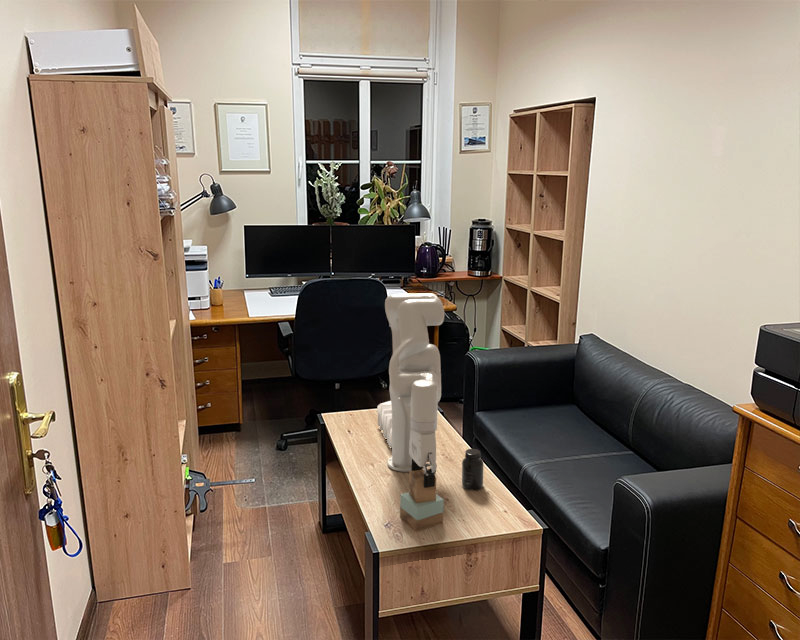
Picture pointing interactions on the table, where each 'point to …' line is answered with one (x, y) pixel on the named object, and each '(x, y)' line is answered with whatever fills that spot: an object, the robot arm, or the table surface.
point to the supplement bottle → (472, 470)
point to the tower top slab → (421, 506)
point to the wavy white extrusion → (385, 420)
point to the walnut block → (420, 487)
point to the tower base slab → (421, 523)
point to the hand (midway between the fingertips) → (422, 478)
